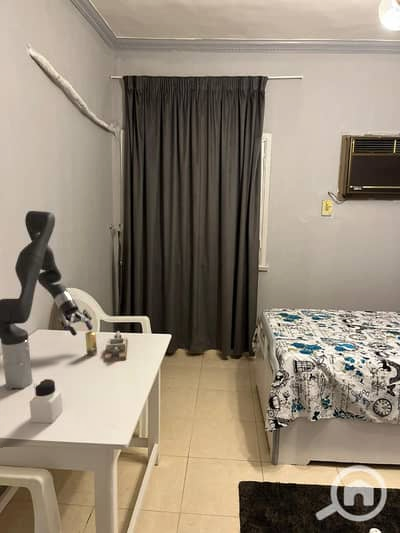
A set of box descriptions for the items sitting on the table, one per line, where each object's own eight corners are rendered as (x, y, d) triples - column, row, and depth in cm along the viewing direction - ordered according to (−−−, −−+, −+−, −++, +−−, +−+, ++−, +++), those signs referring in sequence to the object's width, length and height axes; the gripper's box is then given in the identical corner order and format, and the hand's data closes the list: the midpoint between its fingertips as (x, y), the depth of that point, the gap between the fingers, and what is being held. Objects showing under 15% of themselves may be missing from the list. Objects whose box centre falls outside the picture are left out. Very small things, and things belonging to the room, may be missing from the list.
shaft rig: (126, 360, 166) (125, 348, 165) (104, 362, 164) (104, 349, 163) (127, 340, 189) (127, 330, 188) (109, 342, 187) (108, 331, 186)
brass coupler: (96, 355, 171) (95, 334, 169) (86, 356, 170) (84, 335, 169) (97, 352, 175) (96, 331, 174) (87, 352, 175) (86, 331, 173)
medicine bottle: (63, 411, 126) (60, 377, 124) (52, 423, 119) (49, 387, 117) (42, 410, 127) (39, 376, 125) (31, 422, 120) (27, 387, 118)
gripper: (55, 302, 171) (73, 332, 166) (82, 296, 182) (99, 323, 178) (49, 312, 175) (66, 341, 170) (76, 305, 186) (92, 332, 182)
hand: (83, 332), depth 174 cm, fingers open, 8 cm apart
